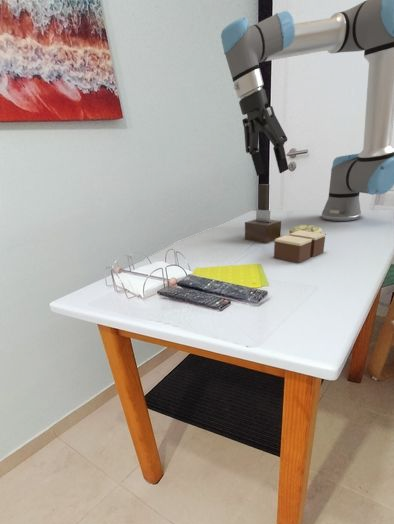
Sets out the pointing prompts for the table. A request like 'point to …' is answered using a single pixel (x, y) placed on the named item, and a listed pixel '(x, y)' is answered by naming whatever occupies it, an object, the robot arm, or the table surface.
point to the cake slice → (292, 248)
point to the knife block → (262, 231)
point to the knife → (263, 204)
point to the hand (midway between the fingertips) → (272, 172)
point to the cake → (316, 242)
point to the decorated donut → (305, 228)
